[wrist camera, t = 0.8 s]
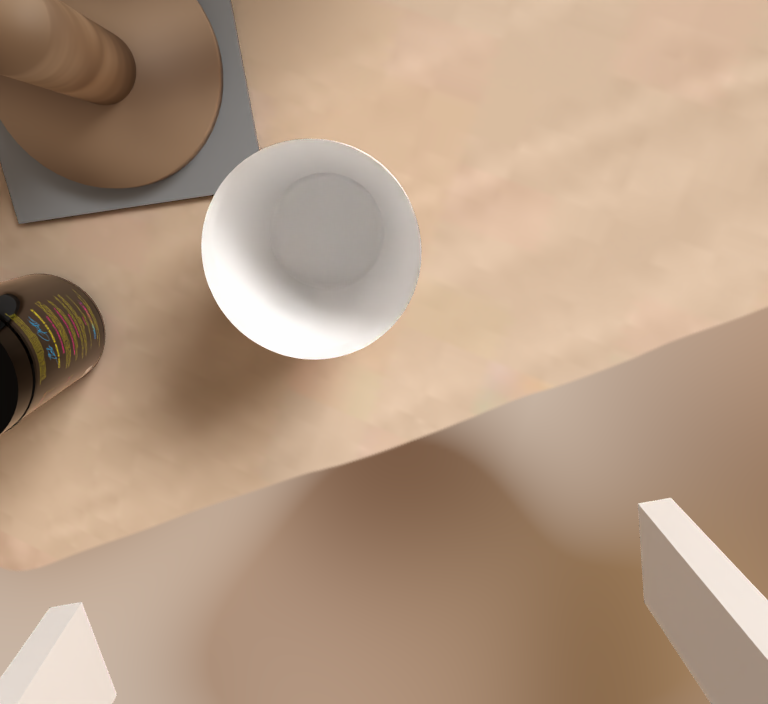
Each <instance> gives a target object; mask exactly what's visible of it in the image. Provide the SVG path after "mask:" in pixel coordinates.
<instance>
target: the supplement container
mask: <svg viewBox="0 0 768 704" xmlns="http://www.w3.org/2000/svg"><path fill="white" fill-rule="evenodd" d="M104 344H105V326H104V322H103V319H102V316H101V313H100V311H99V309H98V307H97V306H96V304H95V303H94V301H93V300H92V299H91V298H90V296H89V295H88V294H87V293H86V292H85V291H83V290H82V289H81V288H80V287H78V286H77V285H75V284H73V283H72V282H70V281H68V280H66V279H63V278H61V277H58V276H54V275H48V274H30V275H25V276H21V277H18V278H14V279H10V280H7V281H3V282H0V435H1V434H3V433H4V432H6V431H8V430H9V429H11V428H12V427H14V426H15V425H16V424H17V423H19V422H20V421H21V420H22V419H23V418H24V417H26V416H27V415H29V414H30V413H31V412H33V411H34V410H36V409H37V408H39V407H40V406H41V405H43V404H44V403H46V402H47V401H49V400H50V399H51V398H53V397H54V396H56V395H57V394H59V393H60V392H62V391H63V390H64V389H66V388H67V387H69V386H70V385H72V384H73V383H74V382H76V381H77V380H79V379H80V378H82V377H83V376H84V375H86V374H87V373H88V372H90V371H91V370H92V369H93V368H94V366H95V365H96V364H97V362H98V361H99V359H100V357H101V355H102V352H103V349H104Z"/></svg>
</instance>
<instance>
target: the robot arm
mask: <svg viewBox="0 0 768 704" xmlns="http://www.w3.org/2000/svg"><path fill="white" fill-rule="evenodd" d="M638 511H639V527H640V542H641V558H642V573H643V590H644V602H645V604H646V605H647V607H648V609H649V610H650V612H651V613H652V615H653V616H654V618H655V619H656V621H657V622H658V624H659V625H660V627H661V628H662V630H663V631H664V633H665V634H666V636H667V638H668V639H669V641H670V642H671V643H672V645H673V647H674V648H675V650H676V651H677V653H678V654H679V656H680V657H681V659H682V660H683V662H684V663H685V665H686V666H687V668H688V669H689V671H690V673H691V674H692V676H693V677H694V679H695V680H696V682H697V683H698V685H699V686H700V688H701V689H702V691H703V692H704V694H705V695H706V697H707V698H708V700H709V701H710V703H711V704H768V600H767V599H766V598H765V597H764V596H763V595H762V594H761V593H760V592H759V591H758V590H757V588H756V587H754V585H753V584H752V583H751V582H750V581H749V580H748V579H747V578H746V577H745V576H744V575H743V574H742V573H741V572H740V571H739V569H738V568H737V567H736V566H735V565H734V564H733V563H732V562H731V561H730V560H729V559H728V558H727V557H726V556H725V555H724V554H723V553H722V551H721V550H720V549H719V548H718V547H717V546H716V545H715V544H714V543H713V542H712V541H711V540H710V539H709V538H708V537H707V536H706V535H705V533H703V531H702V530H701V529H700V528H699V527H698V526H697V525H696V524H695V523H694V522H693V521H692V520H691V519H690V518H689V516H688V515H687V514H686V513H685V512H684V511H683V510H682V509H681V508H680V507H679V506H678V505H677V504H676V503H675V502H674V501H673V500H672V498H667V499H661V500H656V501H650V502H644V503H639V504H638ZM116 695H117V693H116V691H115V688H114V685H113V683H112V680H111V678H110V675H109V672H108V670H107V667H106V664H105V662H104V659H103V657H102V654H101V652H100V649H99V646H98V643H97V641H96V638H95V636H94V633H93V630H92V628H91V625H90V623H89V620H88V617H87V615H86V612H85V609H84V607H83V604H82V602H78V603H72V604H67V605H61V606H56V607H50V608H49V609H48V611H47V612H46V613H45V615H44V617H43V618H42V619H41V621H40V622H39V623H38V625H37V626H36V628H35V629H34V631H33V632H32V633H31V635H30V636H29V638H28V639H27V641H26V642H25V643H24V645H23V646H22V648H21V649H20V650H19V652H18V654H17V655H16V656H15V658H14V659H13V661H12V662H11V663H10V665H9V666H8V668H7V669H6V670H5V672H4V673H3V675H2V676H1V678H0V704H113V702H114V699H115V697H116Z"/></svg>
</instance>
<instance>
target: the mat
mask: <svg viewBox="0 0 768 704" xmlns="http://www.w3.org/2000/svg"><path fill="white" fill-rule="evenodd" d="M197 1H198V2H199V4H200V5H201V7H202V8H203V10H204V12H205V14H206V15H207V17H208V19H209V21H210V23H211V25H212V28H213V30H214V33H215V36H216V38H217V41H218V45H219V49H220V53H221V58H222V66H223V95H222V103H221V107H220V111H219V115H218V118H217V121H216V124H215V126H214V129H213V131H212V133H211V135H210V136H209V138H208V140H207V142H206V144H205V145H204V146H203V148H202V149H201V150H200V152H199V153H198V154H197V155H196V156H195V157H194V158H193V159H192V160H191V161H190V162H189V163H188V164H187V165H186V166H185V167H183V168H182V169H181V170H179V171H178V172H177V173H175V174H173V175H171V176H169V177H168V178H166V179H164V180H161V181H158V182H156V183H153V184H150V185H145V186H141V187H134V188H99V187H94V186H89V185H84V184H81V183H78V182H75V181H72V180H69V179H67V178H65V177H63V176H60V175H58V174H56V173H55V172H53V171H51V170H50V169H48V168H46V167H45V166H43V165H42V164H40V163H39V162H38V161H37V160H35V159H34V158H33V157H31V156H30V155H29V154H28V153H27V152H26V151H25V150H24V149H23V148H22V147H21V146H20V145H19V144H18V143H17V142H16V141H15V139H14V138H13V137H12V136H11V134H10V133H9V132H8V131H7V129H6V128H5V126H4V124H3V123H2V121H1V120H0V162H1V166H2V169H3V173H4V176H5V179H6V183H7V186H8V189H9V193H10V196H11V200H12V203H13V206H14V210H15V213H16V216H17V220H18V223H19V224H22V223H29V222H36V221H42V220H49V219H56V218H62V217H69V216H76V215H82V214H89V213H96V212H102V211H109V210H116V209H122V208H129V207H136V206H142V205H149V204H156V203H162V202H169V201H176V200H182V199H189V198H196V197H202V196H209V195H215V193H216V191H217V189H218V188H219V186H220V185H221V183H222V182H223V181H224V179H225V178H226V177H227V176H228V174H229V173H230V172H231V171H232V170H233V169H234V168H235V167H236V166H238V165H239V164H240V163H241V162H242V161H244V160H245V159H246V158H248V157H249V156H251V155H252V154H254V153H256V152H258V151H259V147H258V141H257V136H256V131H255V125H254V120H253V115H252V110H251V104H250V99H249V94H248V88H247V83H246V78H245V72H244V67H243V62H242V57H241V51H240V46H239V41H238V35H237V30H236V25H235V19H234V14H233V9H232V4H231V0H197Z"/></svg>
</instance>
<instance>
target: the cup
mask: <svg viewBox="0 0 768 704" xmlns="http://www.w3.org/2000/svg"><path fill="white" fill-rule="evenodd" d="M201 248H202V261H203V268H204V272H205V276H206V279H207V282H208V285H209V288H210V290H211V292H212V295H213V297H214V299H215V300H216V302H217V304H218V306H219V307H220V309H221V310H222V312H223V313H224V314H225V316H226V317H227V318H228V319H229V320H230V322H231V323H232V324H233V325H234V326H235V327H236V328H237V329H238V330H239V331H240V332H242V333H243V334H244V335H245V336H247V337H248V338H249V339H251V340H252V341H254V342H255V343H257V344H259V345H260V346H262V347H264V348H266V349H268V350H271V351H273V352H276V353H278V354H282V355H285V356H289V357H294V358H300V359H315V360H318V359H329V358H335V357H340V356H343V355H347V354H350V353H353V352H355V351H358V350H360V349H362V348H364V347H366V346H368V345H369V344H371V343H372V342H374V341H376V340H377V339H378V338H380V337H381V336H382V335H383V334H385V333H386V332H387V331H388V330H389V329H390V328H391V327H392V326H393V325H394V324H395V322H396V321H397V320H398V319H399V318H400V316H401V315H402V313H403V312H404V310H405V309H406V307H407V305H408V304H409V302H410V300H411V297H412V295H413V293H414V290H415V287H416V285H417V281H418V277H419V273H420V266H421V238H420V231H419V227H418V223H417V219H416V216H415V213H414V211H413V208H412V205H411V203H410V201H409V199H408V196H407V195H406V193H405V191H404V190H403V188H402V186H401V185H400V184H399V182H398V181H397V179H396V178H395V177H394V176H393V175H392V174H391V173H390V171H389V170H388V169H387V168H385V167H384V166H383V165H382V164H381V163H380V162H378V161H377V160H376V159H374V158H373V157H372V156H370V155H368V154H367V153H365V152H363V151H361V150H359V149H357V148H355V147H353V146H350V145H347V144H344V143H341V142H336V141H332V140H325V139H295V140H290V141H284V142H281V143H277V144H274V145H271V146H269V147H266V148H264V149H262V150H260V151H258V152H256V153H254V154H252V155H251V156H249V157H248V158H246V159H245V160H244V161H242V162H241V163H240V164H239V165H238V166H236V167H235V168H234V169H233V170H232V171H231V172H230V173H229V174H228V176H227V177H226V178H225V179H224V181H223V182H222V183H221V185H220V186H219V188H218V189H217V191H216V193H215V195H214V197H213V199H212V201H211V203H210V205H209V208H208V211H207V213H206V217H205V221H204V225H203V232H202V244H201Z"/></svg>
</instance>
